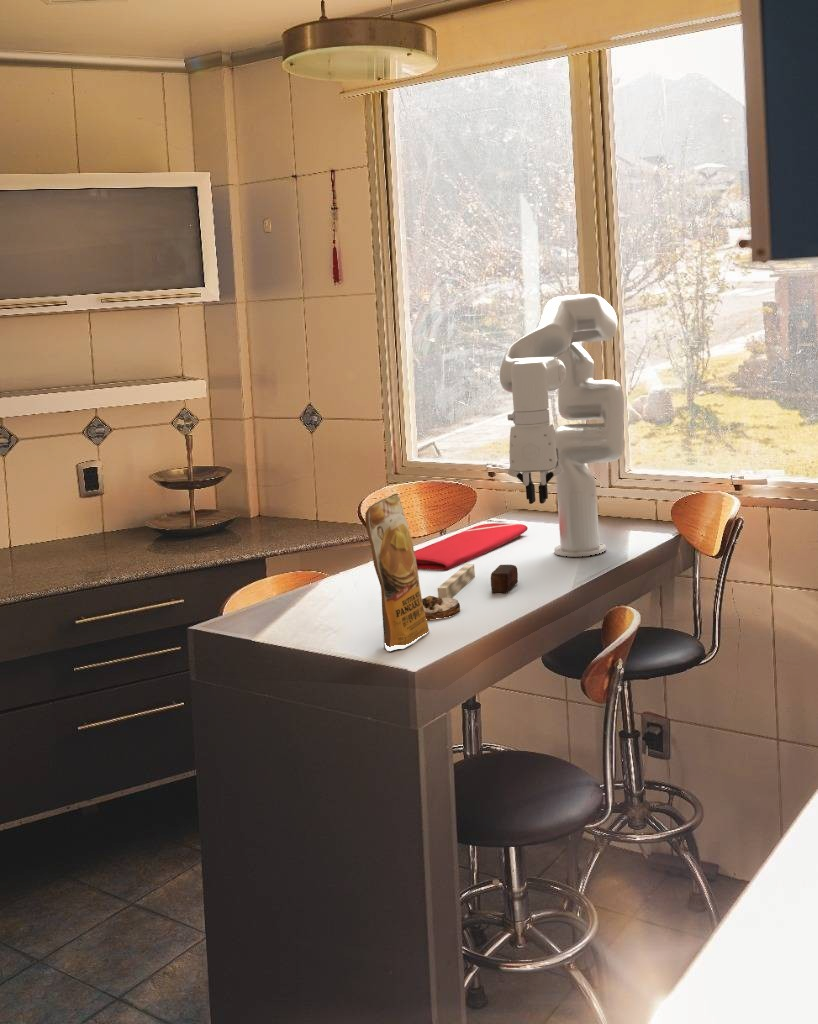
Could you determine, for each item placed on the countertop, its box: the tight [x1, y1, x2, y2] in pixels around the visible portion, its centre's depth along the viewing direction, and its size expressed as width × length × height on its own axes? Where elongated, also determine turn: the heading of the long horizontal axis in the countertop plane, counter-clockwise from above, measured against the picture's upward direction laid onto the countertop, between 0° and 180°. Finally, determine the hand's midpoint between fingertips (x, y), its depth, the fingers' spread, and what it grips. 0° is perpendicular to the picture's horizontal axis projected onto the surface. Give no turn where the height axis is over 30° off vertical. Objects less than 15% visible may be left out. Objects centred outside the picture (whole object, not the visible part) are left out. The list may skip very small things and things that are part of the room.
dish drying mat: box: [414, 522, 528, 571], centre depth 310 cm, size 16×41×4 cm, turn 145°
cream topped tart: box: [422, 595, 461, 621], centre depth 252 cm, size 15×15×4 cm
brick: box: [490, 564, 519, 595], centre depth 268 cm, size 11×4×5 cm, turn 163°
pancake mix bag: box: [364, 493, 430, 647], centre depth 231 cm, size 7×19×28 cm, turn 155°
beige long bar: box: [437, 563, 476, 598], centre depth 270 cm, size 22×2×3 cm, turn 161°
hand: (537, 502), depth 262 cm, fingers closed
